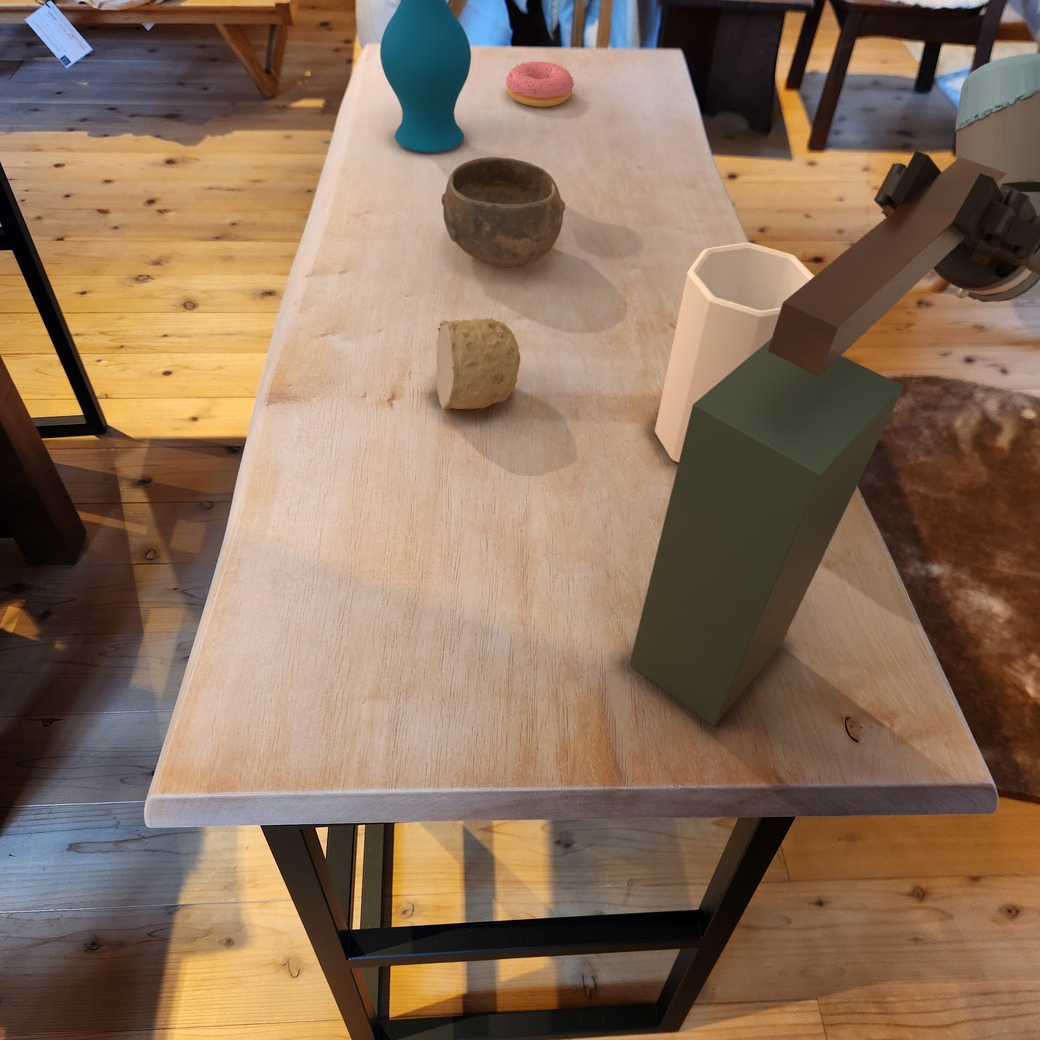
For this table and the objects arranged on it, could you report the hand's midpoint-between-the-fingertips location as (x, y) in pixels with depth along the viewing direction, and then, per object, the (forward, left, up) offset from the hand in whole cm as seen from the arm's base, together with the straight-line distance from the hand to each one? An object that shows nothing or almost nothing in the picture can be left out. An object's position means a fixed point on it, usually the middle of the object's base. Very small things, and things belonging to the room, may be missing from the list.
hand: (940, 188), depth 47 cm
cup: (+14, -11, -35) cm, 40 cm away
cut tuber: (+35, +1, -36) cm, 50 cm away
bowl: (+52, -21, -36) cm, 66 cm away
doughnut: (+80, -61, -36) cm, 107 cm away
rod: (0, +3, -4) cm, 5 cm away
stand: (0, +11, -35) cm, 37 cm away
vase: (+81, -37, -36) cm, 96 cm away
